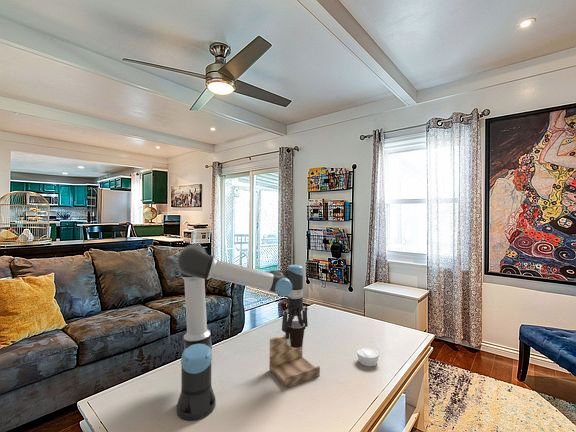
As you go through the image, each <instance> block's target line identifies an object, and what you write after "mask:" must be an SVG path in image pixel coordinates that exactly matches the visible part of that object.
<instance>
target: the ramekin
mask: <svg viewBox="0 0 576 432" xmlns="http://www.w3.org/2000/svg"><path fill="white" fill-rule="evenodd" d="M356 354H357V359H358V362H359V363H360V364H361V365H363V366H365V367H368V368H369V367H371V366H372V367H375V366H376V365H377V364H378V361H379V357H380V353H379V352H378V351H377V350H376V349H374V348H370V347H360V348H359V349H357V351H356ZM372 367H371V368H372Z"/></svg>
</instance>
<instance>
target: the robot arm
mask: <svg viewBox="0 0 576 432" xmlns="http://www.w3.org/2000/svg"><path fill="white" fill-rule="evenodd" d="M176 260H177V261H176V264H177V268H178V270H179V275H180V278H181V279H183V282H184V284H183V285H184V298H185V299H184V300H185V301H184V302H185V316H186V317H185V318H186V321H185V322H186V333H185V334H184V335H183V348H184V349H183V351H182V354H181V357H180V365H181V370H180V371H181V375H180V376H181V377H180V379H181V381H180V382H181V384H180V385H181V386H180V387H181V391H180V393H179V397H178V400H177V402H176V403H177V404H176V415H177V416H178V417H179V418H180V419H182V420H184V421H198V420H201V419H204V418H205V417H208V416H209V415H210V414H211V413H212V412H213V411H214V410H215V408H216V403H217V402H216V399H217V398H216V395H215V392H214V389H213V387H212V386H213V385H212V360H213V353H212V348H213V344H212V336H211V334H212V333H211V331H210V329H208V324H207V322H208V321H207V306H206V305H207V303H206V287H205V286H206V284H205V283H206V282H205V280H210V279H215V280H219V281H223V282H228V283H233V284H237V285H239V286H240V285H241V286H245V287H249V288H255V289H259V290H263V291H268V292H271V293H274V294H275V293H276V295H277V296H279V297H285V298H286V297H287V308H286V309H285V310H282V311H281V313H282V321H281V322H282V323H281V331H282V332H283V333H285V334H284V335H285V338H286V339H287V345H289V346H291V343H290V334H289V327H288V326H290V327H291V325H292V321H294V319H295V317H297V321H299V324H300V325H301V326H302V327H303V323H305V329H304V331H305V330H306V328H307V327H308V325H309V324H308V323H309V322H308V309H309V308H308V307H307V306H305V305H303V303H304V301H303V300H304V299H303V298H304V297H303V295H304V292H303V291H304V269H303V266H302V265H301V264H289V265H287V269H279V270H277V269H274V270H271V269H270V270H264V271H262V270H258V269H255V268H251V267H247V266H243V265H239V264H234V263H231V262H227V261H224V260H223V261H222V260H219V259H216V257H215V256H213V255H210V254H208V253H207V250H206V249H205V247H204V246H202V245H200V244H196V243H192V244H188V245H186V246H185V247H183V248H182V249H181V250H180V253H179V255H178V256H177V259H176Z"/></svg>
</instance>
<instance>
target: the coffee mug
mask: <svg viewBox="0 0 576 432" xmlns="http://www.w3.org/2000/svg"><path fill="white" fill-rule="evenodd" d="M288 327H289V334H290V343H291V347H294V348H299V347H301V346H302V345H303V344H304V337H305V330H306V329H305V328H306V327H305V323H303V327H302V326H301V325H300V324H299V321H298V320H293V321H292V325H291V327H290V326H288ZM304 329H305V330H304Z"/></svg>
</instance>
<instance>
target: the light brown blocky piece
mask: <svg viewBox="0 0 576 432" xmlns="http://www.w3.org/2000/svg"><path fill="white" fill-rule="evenodd" d="M303 348H304V347H303V345H302V346H301V347H299V348H294V347H291V346H289V345H287V339H286V338H285V334H283V335H279V336H275V337H272V338H269V371H270V373H271V374H272V375H273V377H275V378H276V379H277V380H278V381H279V382H280V384H282V385H283V386H284V387H285V389H288V388H291V387H294V386H297V385H299V384H301V383H304V382H307V381H309V380H311V379H314V378H318V377H320V375H321V373H320V372H321V369H320V365H317V366H315V365H313V364H312V363H311V362H309V360H307V359H306V358H305V357H304V356H303Z"/></svg>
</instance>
